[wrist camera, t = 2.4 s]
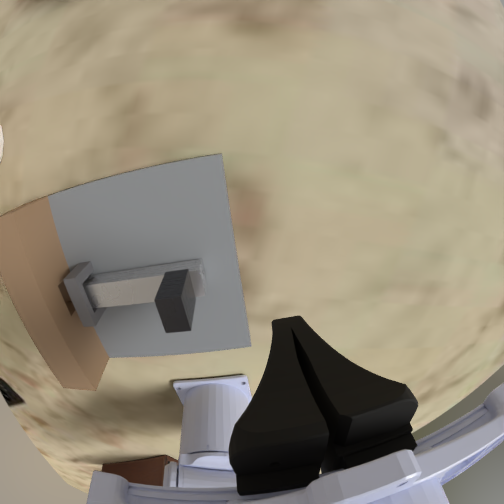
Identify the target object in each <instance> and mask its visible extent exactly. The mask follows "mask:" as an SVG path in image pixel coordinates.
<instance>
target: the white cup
mask: <svg viewBox="0 0 504 504" xmlns="http://www.w3.org/2000/svg"><path fill="white" fill-rule="evenodd" d="M3 145H4V138H3V132H2V126H1V124H0V162H1V159H2V156H3Z"/></svg>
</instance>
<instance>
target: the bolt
mask: <svg viewBox="0 0 504 504" xmlns="http://www.w3.org/2000/svg"><path fill="white" fill-rule="evenodd" d="M82 285H83V287H84V290H85V292H86V295H87V297H88V300H89V302H90V304H91V307H92V308H101V307H112V306H122V305H132V304H141V303H150V302H155V304H156V307H157V310H158V313H159V316H160V319H161V321H162V324H163V327H164V330H165V332H166V333H175V332H185V331H191V329H192V322H193V316H194V309H195V303H196V297H200V296H205V294H206V286H207V282H206V277H205V273H204V268H203V264H202V259H197V260H190V261H184V262H177V263H170V264H163V265H156V266H149V267H143V268H136V269H129V270H122V271H115V272H109V273H102V274H95V275H89V276H88V278H87V279H86V280H85V281H84V282H83V284H82Z"/></svg>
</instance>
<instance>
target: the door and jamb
mask: <svg viewBox="0 0 504 504" xmlns="http://www.w3.org/2000/svg"><path fill="white" fill-rule="evenodd" d="M197 259H202V264H203V268H204V273H205V277H206V282H207V286H206V294H205V296H200V297H196V303H195V309H194V316H193V322H192V329H191V331H185V332H175V333H166V332H165V330H164V327H163V324H162V321H161V319H160V316H159V313H158V310H157V307H156V304H155V302H150V303H141V304H132V305H122V306H112V307H101V308H92V307H91V304H90V302H89V300H88V297H87V295H86V292H85V290H84V287H83V285H82V284H83V282H84V281H85V280H86V279H87V278H88V276H89V275H95V274H102V273H109V272H115V271H122V270H129V269H136V268H143V267H149V266H156V265H163V264H170V263H177V262H184V261H190V260H197ZM0 273H1V276H2V278H3V281H4V283H5V286H6V288H7V290H8V293H9V295H10V297H11V299H12V301H13V304H14V306H15V308H16V310H17V312H18V314H19V316H20V318H21V320H22V322H23V324H24V326H25V328H26V329H27V331H28V333H29V335H30V337H31V338H32V340H33V342H34V344H35V345H36V347H37V349H38V350H39V352H40V354H41V355H42V357H43V358H44V360H45V362H46V363H47V365H48V366H49V368H50V369H51V371H52V372H53V374H54V375H55V377H56V378H57V379H58V381H59V382H60V384H61V385H62V386H63V388H70V389H80V390H92V391H96V389H97V387H98V384H99V381H100V379H101V376H102V374H103V372H104V369H105V367H106V364H107V362H108V360H109V358H115V357H146V356H164V355H178V354H191V353H201V352H211V351H220V350H228V349H236V348H244V347H251V339H250V332H249V326H248V320H247V314H246V308H245V302H244V296H243V290H242V284H241V277H240V271H239V265H238V259H237V252H236V246H235V239H234V233H233V226H232V220H231V213H230V206H229V200H228V193H227V186H226V179H225V172H224V165H223V158H222V153H220V154H214V155H207V156H201V157H196V158H190V159H185V160H179V161H174V162H169V163H164V164H160V165H155V166H151V167H146V168H142V169H137V170H133V171H129V172H125V173H121V174H117V175H114V176H110V177H106V178H102V179H99V180H95V181H92V182H88V183H85V184H82V185H79V186H75V187H72V188H69V189H66V190H63V191H60V192H57V193H54V194H51V195H48V196H45V197H42V198H40V199H37V200H34V201H31V202H29V203H26V204H24V205H22V206H20V207H18V208H16V209H13V210H11V211H9V212H7V213H5V214H3V215H1V216H0Z"/></svg>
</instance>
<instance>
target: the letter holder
mask: <svg viewBox="0 0 504 504" xmlns="http://www.w3.org/2000/svg"><path fill="white" fill-rule="evenodd" d="M171 461H173V462H177V465H178V460H176V459H174V458H172V457H170V456H168V455H163V456H158V457H153V458H147V459H141V460H135V461H127V462H119V463H110V464H103V466H102V472H105V473H111V474H116V475H119V476H121V477H123V478H125V479H126V480H127V481H128V482H130V483H137V484H144V485H154V486H163V480H164V469H165V466H166V465H167V464H170V462H171Z"/></svg>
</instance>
